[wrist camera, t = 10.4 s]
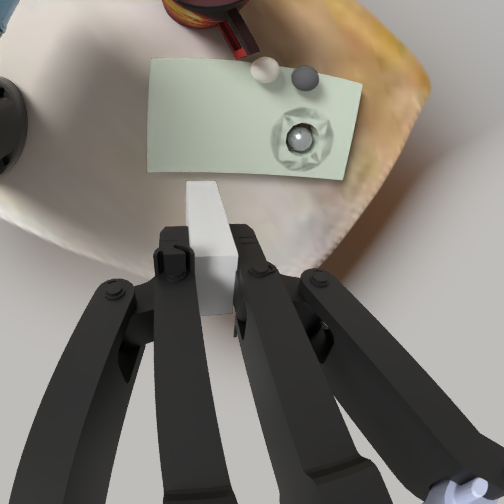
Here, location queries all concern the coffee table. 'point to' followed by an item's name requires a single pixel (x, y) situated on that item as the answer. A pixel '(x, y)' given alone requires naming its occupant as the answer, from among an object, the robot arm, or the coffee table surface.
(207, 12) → the mug
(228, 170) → the board
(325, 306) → the robot arm
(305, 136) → the steel ball
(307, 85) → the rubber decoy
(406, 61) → the coffee table surface
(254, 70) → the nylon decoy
